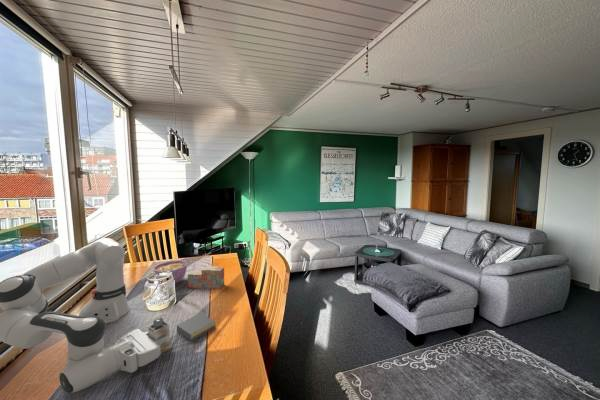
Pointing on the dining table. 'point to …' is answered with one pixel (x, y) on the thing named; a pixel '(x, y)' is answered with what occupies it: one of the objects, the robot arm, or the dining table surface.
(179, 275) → the bowl of food
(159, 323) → the metal canister
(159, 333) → the small grey lidded jar
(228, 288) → the dining table surface
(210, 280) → the stack of blocks
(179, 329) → the block
